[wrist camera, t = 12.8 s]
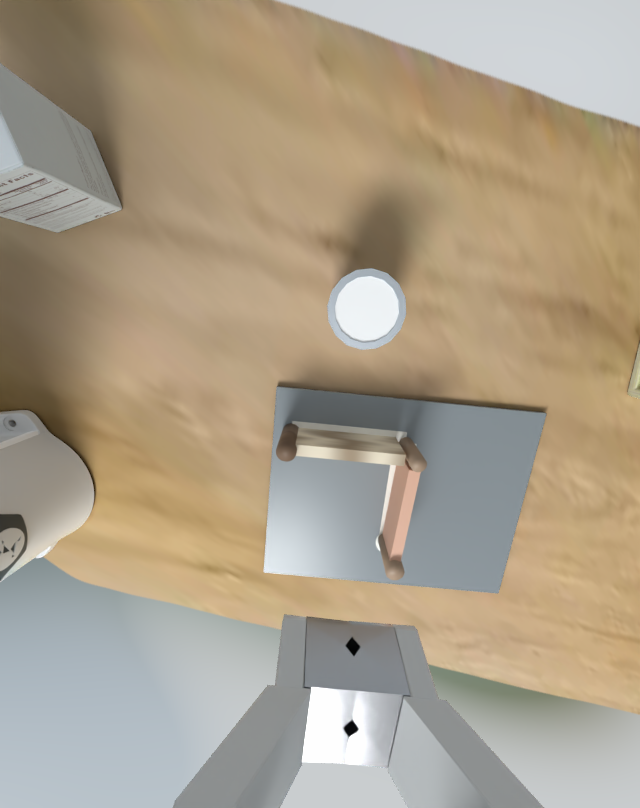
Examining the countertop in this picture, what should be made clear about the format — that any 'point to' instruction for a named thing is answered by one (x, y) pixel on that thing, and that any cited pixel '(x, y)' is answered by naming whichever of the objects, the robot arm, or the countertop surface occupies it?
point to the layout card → (371, 486)
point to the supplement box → (48, 162)
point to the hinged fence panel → (400, 509)
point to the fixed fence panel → (338, 446)
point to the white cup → (366, 309)
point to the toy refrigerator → (635, 378)
